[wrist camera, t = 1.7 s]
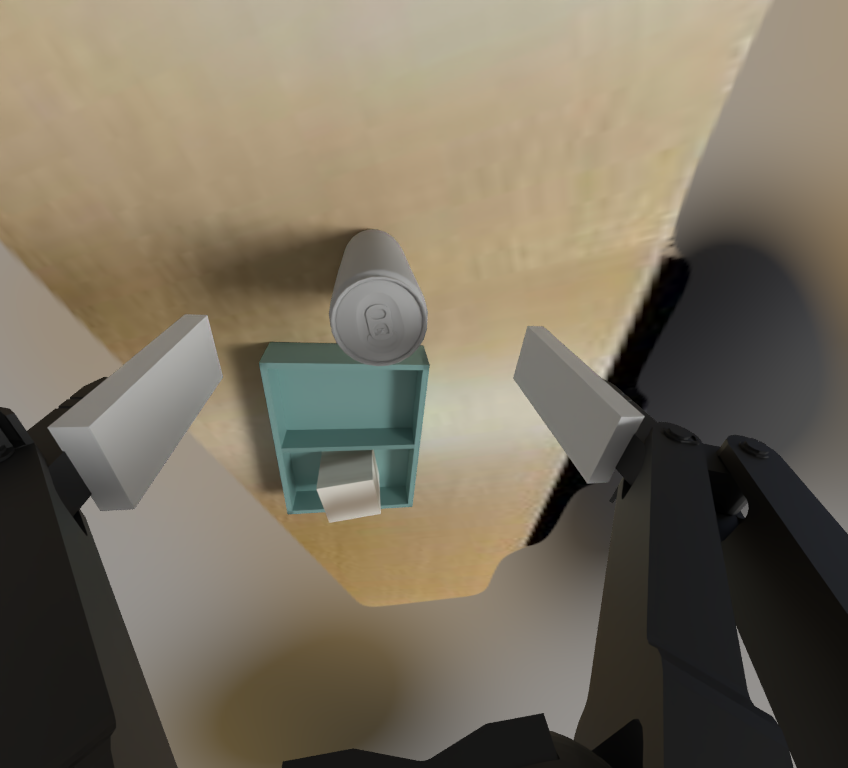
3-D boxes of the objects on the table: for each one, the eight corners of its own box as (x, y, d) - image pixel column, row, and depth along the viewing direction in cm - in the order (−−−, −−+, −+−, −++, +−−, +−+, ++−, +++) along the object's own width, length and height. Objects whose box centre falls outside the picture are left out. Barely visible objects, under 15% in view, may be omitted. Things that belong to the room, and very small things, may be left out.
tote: (269, 342, 28) (258, 362, 25) (423, 345, 30) (429, 364, 27) (293, 487, 38) (287, 514, 35) (408, 481, 40) (412, 506, 37)
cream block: (322, 449, 34) (316, 488, 30) (371, 441, 34) (372, 479, 30) (333, 482, 37) (329, 522, 33) (379, 474, 37) (380, 513, 33)
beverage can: (350, 297, 27) (341, 375, 17) (335, 232, 24) (314, 282, 14) (409, 288, 27) (434, 360, 17) (401, 223, 25) (425, 265, 15)
